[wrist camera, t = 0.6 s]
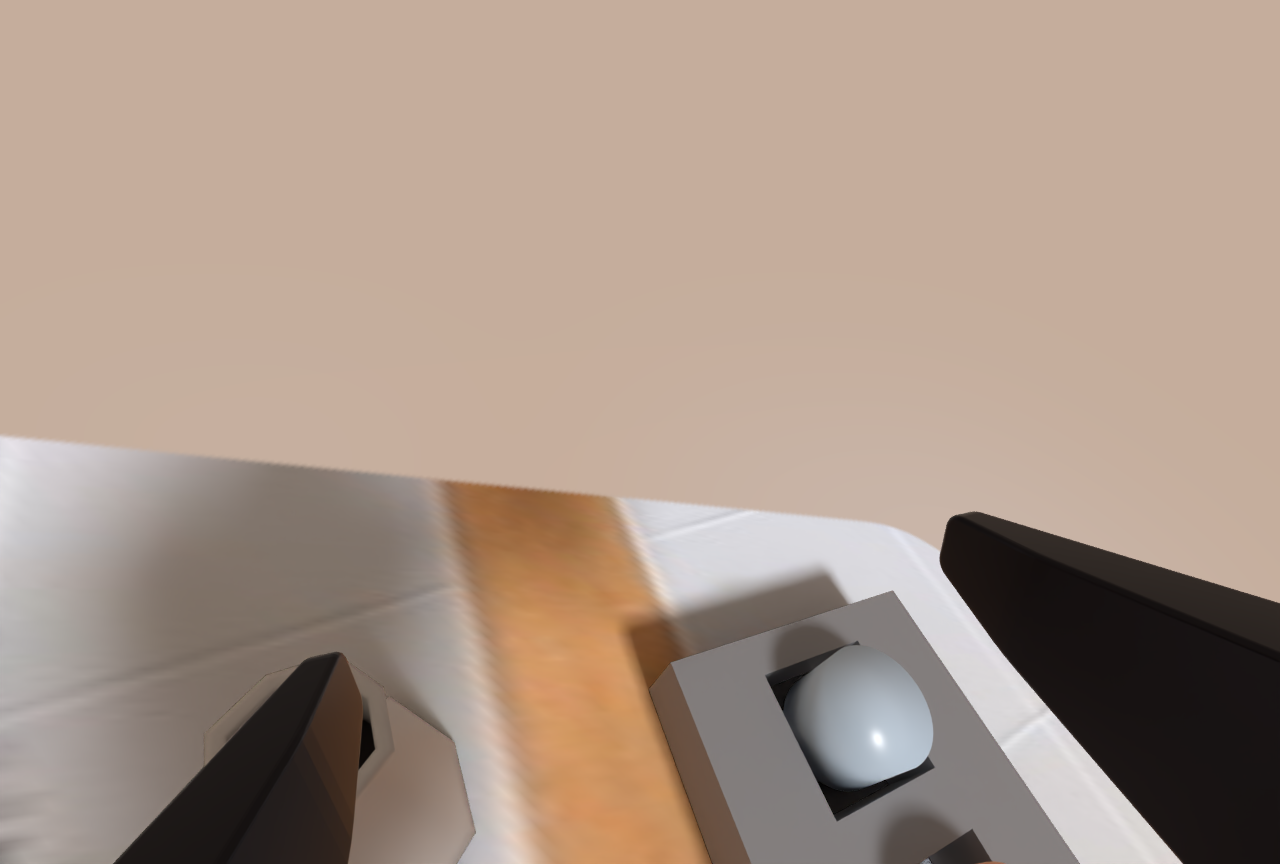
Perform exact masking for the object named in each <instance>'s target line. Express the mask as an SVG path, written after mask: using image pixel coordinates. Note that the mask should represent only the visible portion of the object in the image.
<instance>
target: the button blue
mask: <svg viewBox="0 0 1280 864" xmlns="http://www.w3.org/2000/svg"><path fill="white" fill-rule="evenodd" d="M783 714H784V716H785V718H786V720H787V722H788V724H789V726H790V728H791V730H792V732H793V734H794V736H795V738H796V740H797V742H798V744H799V746H800V748H801V750H802V752H803V754H804V756H805V758H806V760H807V762H808V764H809V766H810V768H811V770H812V772H813V775H814V777H815V778H816V779H817V780H818V781H820V782H821V783H823V784H824V785H826V786H828V787H830V788H833V789H836V790H839V791H845V792H849V791H857V790H860V789H863V788H865V787H868V786H870V785H873V784H876V783H878V782H881V781H883V780H886V779H888V778H891V777H894V776H896V775H899V774H901V773H904V772H906V771H909V770H911V769H914V768H916V767H918V766H919V765H921V764H922V763H923V762H924V761H925V759H926V758H927V756H928V755H929V752H930V750H931V747H932V742H933V724H932V718H931V714H930V710H929V708H928V705H927V702H926V700H925V698H924V696H923V694H922V692H921V690H920V689H919V687H918V685H917V684H916V683H915V681H914V680H913V678H912V677H911V676H910V675H909V673H908V672H907V671H906V670H905V669H904V668H903V667H902V666H901V665H900V664H898V663H897V662H896V661H895V660H894V659H892V658H891V657H889V656H888V655H886V654H885V653H883V652H881V651H879V650H877V649H874V648H871V647H868V646H863V645H852V646H847V647H844V648H842V649H840V650H838V651H837V652H836V653H834V654H833V655H832V656H830V657H829V658H828V659H826V660H825V661H824V662H822V663H821V664H820V665H818V666H817V667H816V668H814V669H813V670H812V671H810V672H809V673H808V674H806V675H805V676H804V677H802V678H801V679H800V680H798V681H797V682H796V683H795V684H794V685H793V686H792V687H791V688H790V690H789V691H788V694H787V696H786V699H785V702H784V709H783Z"/></svg>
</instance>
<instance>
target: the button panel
mask: <svg viewBox="0 0 1280 864" xmlns="http://www.w3.org/2000/svg"><path fill="white" fill-rule="evenodd" d="M852 645H863V646H868V647H871V648H874V649H877V650H879V651H881V652H883V653H885V654H886V655H888V656H889V657H891V658H892V659H894V660H895V661H896V662H897V663H898V664H900V665H901V666H902V667H903V668H904V669H905V670H906V671H907V672H908V673H909V675H910V676H911V677H912V678H913V680H914V681H915V683H916V684H917V685H918V687H919V689H920V690H921V692H922V694H923V696H924V698H925V700H926V702H927V705H928V708H929V710H930V714H931V718H932V724H933V742H932V747H931V750H930V752H929V755H928V756H927V758H926V759H925V761H924V762H923V763H922V764H921V765H919V766H918V767H916V768H914V769H911V770H909V771H906V772H904V773H901V774H899V775H896V776H894V777H891V778H888V779H886V781H887V783H888V784H889V785H888V786H886V787H884V788H882V789H880V790H879V791H877V792H875V793H873V794H871V795H869V796H868V797H866V798H864V799H862V800H860V801H858V802H856V803H855V804H853V805H851V806H849V807H847V808H845V809H844V810H842V811H840V812H838V813H836V814H834V815H833V813H832V811H831V809H830V807H829V805H828V803H827V801H826V799H825V797H824V795H823V793H822V791H821V789H820V787H819V785H818V783H817V781H816V779H815V777H814V775H813V772H812V770H811V768H810V766H809V764H808V762H807V760H806V758H805V756H804V754H803V752H802V750H801V748H800V746H799V744H798V742H797V740H796V738H795V736H794V734H793V732H792V730H791V728H790V726H789V724H788V722H787V720H786V718H785V716H784V714H783V711H782V709H781V707H780V705H779V703H778V701H777V699H776V697H775V695H774V693H773V691H772V689H771V687H770V686H773V685H775V684H778V683H780V682H783V681H786V680H788V679H791V678H794V677H796V676H799V675H802V674H804V673H807V672H809V671H812V670H813V669H814V668H816V667H817V666H818V665H820V664H821V663H822V662H824V661H825V660H826V659H828V658H829V657H830V656H832V655H833V654H834V653H836V652H837V651H838V650H840V649H842V648H844V647H847V646H852ZM649 692H650V695H651V697H652V700H653V703H654V705H655V708H656V711H657V714H658V716H659V719H660V722H661V725H662V727H663V730H664V733H665V735H666V738H667V741H668V744H669V746H670V749H671V752H672V755H673V757H674V760H675V763H676V765H677V768H678V771H679V774H680V776H681V779H682V782H683V785H684V787H685V790H686V793H687V795H688V798H689V801H690V804H691V806H692V809H693V812H694V815H695V817H696V820H697V823H698V825H699V828H700V831H701V834H702V836H703V839H704V842H705V845H706V847H707V850H708V853H709V855H710V858H711V861H712V864H919V863H921V862H922V861H924V860H925V859H927V858H928V857H929V858H930V860H931V862H932V863H933V864H977V863H983V862H992V861H995V862H1002V863H1005V864H1080V863H1079V862H1078V860H1077V859H1076V857H1075V856H1074V854H1073V853H1072V851H1071V850H1070V848H1069V847H1068V846H1067V844H1066V843H1065V841H1064V840H1063V838H1062V837H1061V835H1060V834H1059V832H1058V831H1057V829H1056V828H1055V827H1054V825H1053V824H1052V822H1051V821H1050V819H1049V818H1048V816H1047V815H1046V813H1045V812H1044V810H1043V809H1042V808H1041V806H1040V805H1039V803H1038V802H1037V800H1036V799H1035V797H1034V796H1033V794H1032V793H1031V791H1030V790H1029V789H1028V787H1027V786H1026V784H1025V783H1024V781H1023V780H1022V778H1021V777H1020V775H1019V774H1018V772H1017V771H1016V770H1015V768H1014V767H1013V765H1012V764H1011V762H1010V761H1009V759H1008V758H1007V756H1006V755H1005V753H1004V752H1003V751H1002V749H1001V748H1000V746H999V745H998V743H997V742H996V740H995V739H994V737H993V736H992V734H991V733H990V732H989V730H988V729H987V727H986V726H985V724H984V723H983V721H982V720H981V718H980V717H979V715H978V714H977V713H976V711H975V710H974V708H973V707H972V705H971V704H970V702H969V701H968V699H967V698H966V696H965V695H964V694H963V692H962V691H961V689H960V688H959V686H958V685H957V683H956V682H955V680H954V679H953V677H952V676H951V675H950V673H949V672H948V670H947V669H946V667H945V666H944V664H943V663H942V661H941V660H940V658H939V657H938V656H937V654H936V653H935V651H934V650H933V648H932V647H931V645H930V644H929V642H928V641H927V639H926V638H925V637H924V635H923V634H922V632H921V631H920V629H919V628H918V626H917V625H916V623H915V622H914V620H913V619H912V618H911V616H910V615H909V613H908V612H907V610H906V609H905V607H904V606H903V604H902V603H901V601H900V600H899V599H898V597H897V596H896V594H895V593H894V591H890V592H887V593H883V594H880V595H877V596H874V597H871V598H868V599H865V600H862V601H859V602H856V603H853V604H850V605H846V606H843V607H840V608H837V609H834V610H831V611H828V612H825V613H822V614H819V615H816V616H813V617H809V618H806V619H803V620H800V621H797V622H794V623H791V624H788V625H785V626H782V627H779V628H776V629H772V630H769V631H766V632H763V633H760V634H757V635H754V636H751V637H748V638H745V639H742V640H739V641H735V642H732V643H729V644H726V645H723V646H720V647H717V648H714V649H711V650H708V651H705V652H702V653H698V654H695V655H692V656H689V657H686V658H683V659H680V660H677V661H674V662H671V663H670V664H669V665H668V666H667V668H666V669H665V670H664V671H663V673H662V674H661V675H660V676H659V677H658V679H657V680H656V681H655V682H654V684H653V685H652V686H651V687H650V688H649Z"/></svg>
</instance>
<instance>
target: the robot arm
mask: <svg viewBox="0 0 1280 864" xmlns="http://www.w3.org/2000/svg"><path fill="white" fill-rule="evenodd" d="M940 565H941V568H942V570H943V572H944V574H945V575H946V577H947V578H948V579H949V581H950V582H951V583H952V585H953V586H954V588H955V589H956V590H957V592H958V593H959V595H960V596H961V597H962V599H963V600H964V601H965V603H966V604H967V606H968V607H969V608H970V610H971V611H972V612H973V614H974V615H975V617H976V618H977V619H978V621H979V622H980V624H981V625H982V626H983V628H984V629H985V630H986V632H987V633H988V635H989V636H990V637H991V639H992V640H993V642H994V643H995V644H996V645H997V647H998V648H999V649H1000V651H1001V652H1002V653H1003V655H1004V656H1005V657H1006V658H1007V660H1008V661H1009V662H1010V663H1011V664H1012V666H1013V667H1014V668H1015V669H1016V670H1017V672H1018V673H1019V674H1020V675H1021V676H1022V677H1023V679H1024V680H1025V681H1026V682H1027V683H1028V684H1029V686H1030V687H1031V688H1032V689H1033V690H1034V691H1035V693H1036V694H1037V695H1038V696H1039V697H1040V698H1041V699H1042V701H1043V702H1044V703H1045V704H1046V705H1047V706H1048V708H1049V709H1050V710H1051V711H1052V712H1053V713H1054V715H1055V716H1056V717H1057V718H1058V719H1059V720H1060V722H1061V723H1062V724H1063V725H1064V726H1065V727H1066V728H1067V730H1068V731H1069V732H1070V733H1071V734H1072V735H1073V737H1074V738H1075V739H1076V740H1077V741H1078V742H1079V744H1080V745H1081V746H1082V747H1083V748H1084V749H1085V751H1086V752H1087V753H1088V754H1089V755H1090V756H1091V758H1092V759H1093V760H1094V761H1095V762H1096V763H1097V764H1098V766H1099V767H1100V768H1101V769H1102V770H1103V771H1104V773H1105V774H1106V775H1107V776H1108V777H1109V778H1110V780H1111V781H1112V782H1113V783H1114V784H1115V785H1116V787H1117V788H1118V789H1119V790H1120V791H1121V792H1122V793H1123V795H1124V796H1125V797H1126V798H1127V799H1128V800H1129V802H1130V803H1131V804H1132V805H1133V806H1134V807H1135V809H1136V810H1137V811H1138V812H1139V813H1140V814H1141V816H1142V817H1143V818H1144V819H1145V820H1146V821H1147V823H1148V824H1149V825H1150V826H1151V827H1152V828H1153V829H1154V831H1155V832H1156V833H1157V834H1158V835H1159V836H1160V838H1161V839H1162V840H1163V841H1164V842H1165V843H1166V845H1167V846H1168V847H1169V848H1170V849H1171V850H1172V852H1173V853H1174V854H1175V855H1176V856H1177V857H1178V858H1179V860H1180V861H1181V862H1182V863H1183V864H1280V603H1277V602H1274V601H1271V600H1267V599H1264V598H1261V597H1257V596H1254V595H1251V594H1248V593H1244V592H1240V591H1238V590H1234V589H1231V588H1228V587H1224V586H1221V585H1218V584H1215V583H1211V582H1208V581H1205V580H1201V579H1198V578H1195V577H1192V576H1188V575H1185V574H1182V573H1178V572H1175V571H1172V570H1168V569H1165V568H1162V567H1158V566H1155V565H1152V564H1149V563H1145V562H1142V561H1139V560H1136V559H1132V558H1129V557H1126V556H1122V555H1119V554H1116V553H1113V552H1109V551H1106V550H1103V549H1099V548H1096V547H1093V546H1090V545H1086V544H1083V543H1080V542H1076V541H1073V540H1070V539H1066V538H1063V537H1060V536H1057V535H1053V534H1050V533H1046V532H1043V531H1040V530H1037V529H1033V528H1030V527H1027V526H1024V525H1020V524H1017V523H1014V522H1010V521H1007V520H1004V519H1001V518H997V517H994V516H990V515H987V514H984V513H981V512H968V513H964V514H959V515H955V516H953V517H951V518H950V519H949V521H948V522H947V525H946V530H945V534H944V539H943V543H942V548H941V552H940ZM362 719H363V704H362V698H361V694H360V691H359V689H358V686H357V684H356V681H355V679H354V676H353V674H352V671H351V669H350V666H349V664H348V661H347V659H346V657H345V656H344V655H343V654H342V653H340V652H333V653H328V654H324V655H319V656H315V657H311V658H308V659H306V660H304V661H303V662H302V663H301V664H300V665H299V666H298V667H297V668H296V669H295V670H294V671H293V672H292V673H291V674H290V675H289V676H288V678H287V679H286V680H285V681H284V682H283V683H282V684H281V685H280V686H279V687H278V688H277V689H276V690H275V691H274V692H273V694H272V695H271V696H270V697H269V698H268V699H267V700H266V701H265V702H264V703H263V704H262V705H261V706H260V707H259V709H258V710H257V711H256V712H255V713H254V714H253V715H252V716H251V717H250V718H249V719H248V720H247V721H246V722H245V723H244V725H243V726H242V727H241V728H240V729H239V730H238V731H237V732H236V733H235V734H234V735H233V736H232V737H231V738H230V739H229V741H228V742H227V743H226V744H225V745H224V746H223V747H222V748H221V749H220V750H219V751H218V752H217V753H216V754H215V755H214V757H213V758H212V759H211V760H210V761H209V762H208V763H207V764H206V765H205V766H204V767H203V768H202V769H201V770H200V771H199V773H198V774H197V775H196V776H195V777H194V778H193V779H192V780H191V781H190V782H189V783H188V784H187V785H186V786H185V787H184V789H183V790H182V791H181V792H180V793H179V794H178V795H177V796H176V797H175V798H174V799H173V800H172V801H171V802H170V804H169V805H168V806H167V807H166V808H165V809H164V810H163V811H162V812H161V813H160V814H159V815H158V816H157V817H156V818H155V820H154V821H153V822H152V823H151V824H150V825H149V826H148V827H147V828H146V829H145V830H144V831H143V832H142V833H141V834H140V836H139V837H138V838H137V839H136V840H135V841H134V842H133V843H132V844H131V845H130V846H129V847H128V848H127V849H126V850H125V852H124V853H123V854H122V855H121V856H120V857H119V858H118V859H117V860H116V861H115V862H114V863H113V864H348V861H349V855H350V849H351V843H352V835H353V825H354V815H355V803H356V791H357V779H358V767H359V755H360V743H361V731H362Z"/></svg>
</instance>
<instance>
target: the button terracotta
mask: <svg viewBox="0 0 1280 864" xmlns="http://www.w3.org/2000/svg"><path fill="white" fill-rule="evenodd" d="M977 864H1005V863H1002V862H995V861H992V862H983V863H977Z"/></svg>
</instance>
